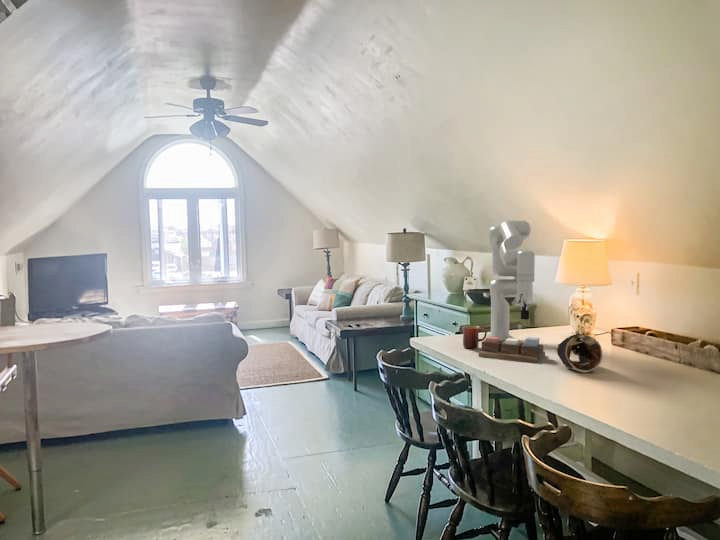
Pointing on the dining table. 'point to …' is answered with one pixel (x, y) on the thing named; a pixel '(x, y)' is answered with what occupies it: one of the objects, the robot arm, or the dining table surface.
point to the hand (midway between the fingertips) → (524, 319)
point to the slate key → (532, 342)
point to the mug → (472, 336)
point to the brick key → (493, 339)
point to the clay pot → (580, 352)
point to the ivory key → (512, 341)
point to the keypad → (512, 351)
